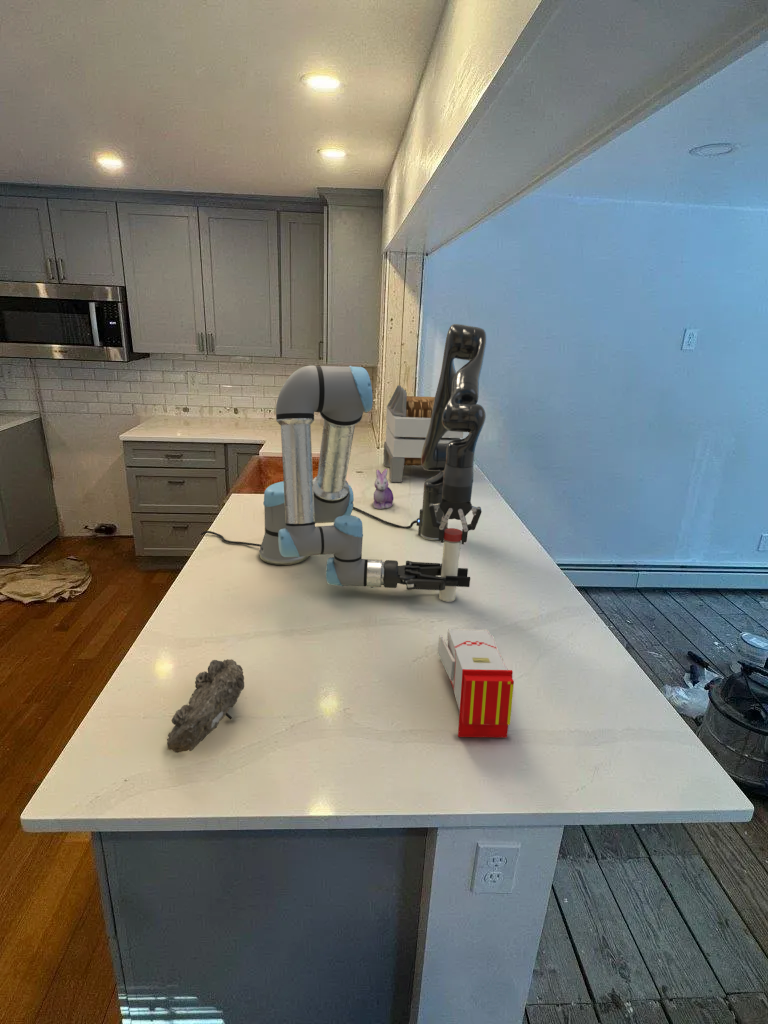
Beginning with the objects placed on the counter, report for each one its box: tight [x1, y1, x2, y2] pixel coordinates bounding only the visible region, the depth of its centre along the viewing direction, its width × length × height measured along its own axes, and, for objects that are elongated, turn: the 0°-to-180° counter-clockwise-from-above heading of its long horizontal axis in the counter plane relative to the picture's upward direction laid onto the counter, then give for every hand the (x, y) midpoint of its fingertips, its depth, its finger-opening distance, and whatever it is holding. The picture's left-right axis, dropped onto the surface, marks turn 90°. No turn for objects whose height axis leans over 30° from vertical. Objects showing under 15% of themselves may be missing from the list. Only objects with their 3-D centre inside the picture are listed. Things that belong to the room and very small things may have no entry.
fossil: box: [166, 658, 245, 754], centre depth 106 cm, size 22×10×15 cm
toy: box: [437, 628, 515, 738], centre depth 117 cm, size 12×13×30 cm
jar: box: [438, 539, 462, 603], centre depth 154 cm, size 4×4×19 cm
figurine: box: [372, 468, 394, 510], centre depth 225 cm, size 9×10×15 cm
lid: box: [444, 527, 462, 542], centre depth 151 cm, size 5×5×2 cm
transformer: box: [383, 384, 464, 483], centre depth 268 cm, size 34×33×41 cm
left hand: (468, 577), depth 155 cm, fingers closed on jar, 4 cm apart
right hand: (452, 542), depth 151 cm, fingers closed on lid, 5 cm apart
